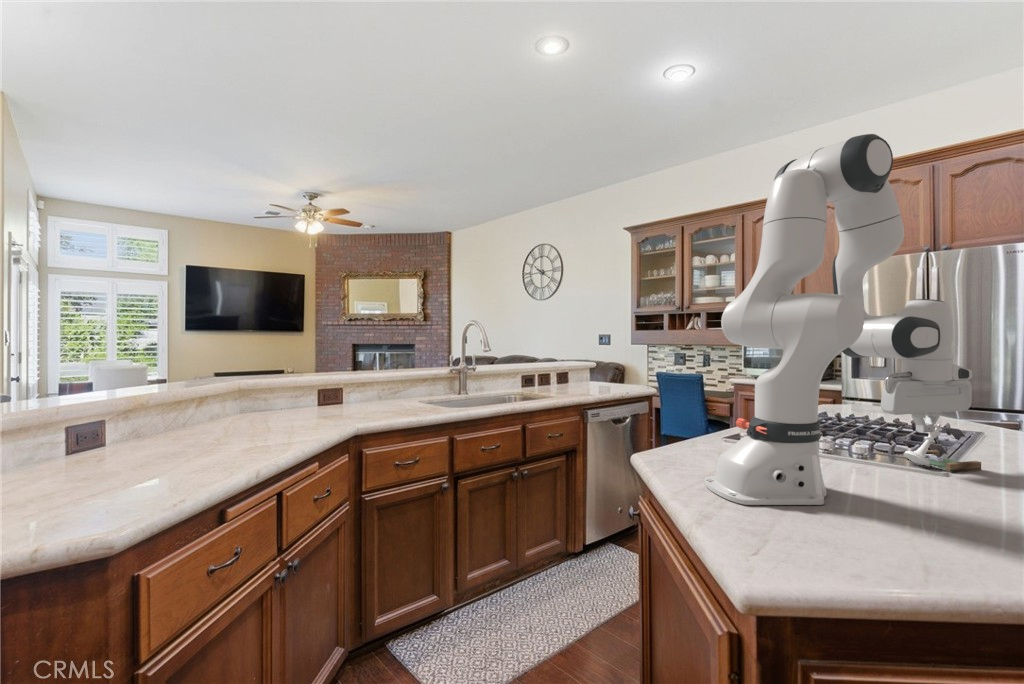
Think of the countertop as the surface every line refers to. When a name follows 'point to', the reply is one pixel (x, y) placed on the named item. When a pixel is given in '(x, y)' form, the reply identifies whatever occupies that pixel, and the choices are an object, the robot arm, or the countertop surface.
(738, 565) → the countertop surface
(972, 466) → the cradle
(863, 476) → the countertop surface
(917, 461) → the chess piece
